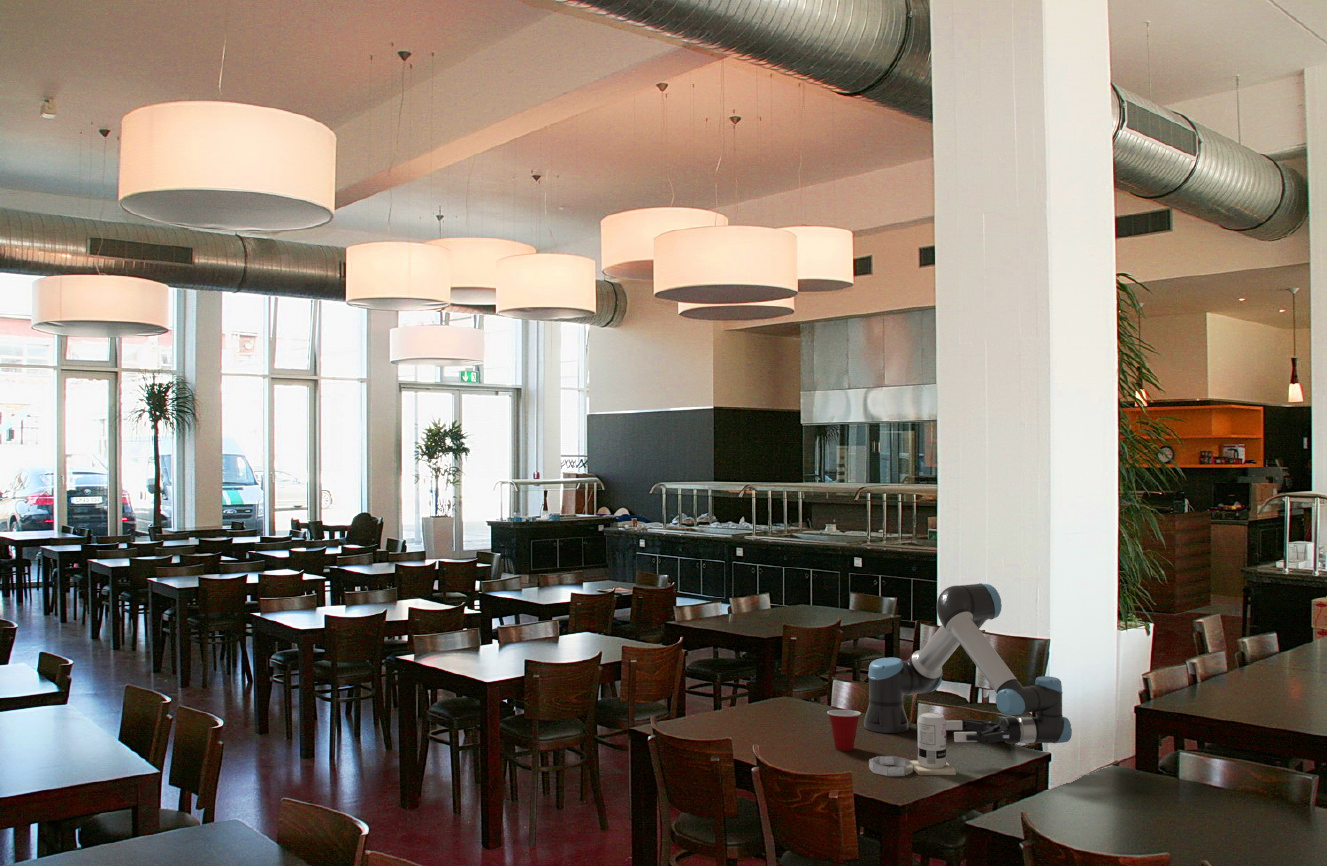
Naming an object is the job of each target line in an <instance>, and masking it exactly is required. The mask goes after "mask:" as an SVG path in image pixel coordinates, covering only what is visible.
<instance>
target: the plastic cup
mask: <svg viewBox="0 0 1327 866" xmlns="http://www.w3.org/2000/svg"><path fill="white" fill-rule="evenodd" d="M826 713H827V715H828V718H829V722H830V728H831V732H832V739H833V743H834V749H835V750H837V751H841V752H851V751H853V750H854V747H855V740H856V737H857V736H856V735H857V729H858V725H859V724H858V723H859V718H860V715H861V714H862V712H860V711H858V710H853V709H852V710H851V709H831V710H828V711H826Z"/></svg>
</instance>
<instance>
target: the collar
mask: <svg viewBox="0 0 1327 866" xmlns="http://www.w3.org/2000/svg"><path fill="white" fill-rule="evenodd" d="M868 768H869V770H870V771H871V772H872V773H873V774H875V775H876V774H877V775H881V776H885V777H906V776H908V775H910V774H912V773H913V772H914V769H913V763H912V762H911V761H910V759H909V758H906V757H900V756H896V755H877V756H875V757H871V758H869V759H868ZM905 775H906V776H905Z"/></svg>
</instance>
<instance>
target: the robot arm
mask: <svg viewBox="0 0 1327 866" xmlns="http://www.w3.org/2000/svg"><path fill="white" fill-rule="evenodd" d="M1001 612H1002V598H1001V596H1000V593H999V592H998V590H997V589H996V587H994V586H993V585H991V584H990V583H989V584H988V583H983V582H982V583H973V584H963V585H951V586H949V587H946V588H945V589H944V590H942V592H940V594H939V596H938V599H937V602H936V613H937V616H938V619H939V622H940V623H941V625H940V626H939V627H938V629H937V630H936V631H935V633H934V634H933V635H932V637H931V638H930V639H929V640H928V641H927V643H926V644H925V645H924V647H922V649H919V650H916V651H914V652H913V653H912V654H911V655H910V656H909V658H908V659H907V660H902V659H901V658H898V657H881V658H877V659H874V660H873V661H871V662H870V664H869V666H868V674H867V675H868V707H867V709H866V713H865V717H864V719H863V720H864V721H863V725H864V726H863V728H865V729H866V730H868V731H871V732H876V733H882V734H883V733H884V734H896V733H904V732H907V731H908V730H909V719H908V718H907V714H906V711H905V707H904V696H910V695H917V694H928V693H931V692H935V691H936V690H938V688H939V687H940V686H941V684H942V681H943V678H942V677H943V666H944V664H945V663H946V662H947V661H948V660H949V658H950V657H951V656H952V655H953V654H954V652H955V651H956V650H957V649H958V647H959V646H961V647H962V648H963V650H964V651H965V652H966V654H967V655H968V656H969V658H970V660H972V662H973V663H974V664H975V666H976V667H977V669H978V670H979V672H980V673H981V674H982V675H983V677H984V679H985V681H987V683H988V684H989V685H990V687H991V688H992V689H993V691H994V692H995V693H996V695H995V704H996V709H998V711H999V712H1000V713H1001V714H1002V715H1004V716H1017V718H1016V717H1004V718H1002V720H1001V723H1000V724H999V723H997V722H996V721H995V720H984V719H983V720H982V719H973V718H965V717H962V718H960V719H961V720H946V731H954V732H953V742H954V743H977V742H978V743H981V744H982V745H987V744H993V743H997V742H999V743H1000V742H1004V743H1006V744H1018V743H1020V744H1025V745H1026V746H1028V745H1030V744H1060V743H1068V742H1069V741H1071V738H1072V736H1073V735H1072V733H1073V732H1072V731H1073V729H1072V724H1071V721H1070V720H1069V718H1068V717H1065V716H1063V693H1064V692H1063V686H1062V685H1063V684H1062V681H1061V679H1059V678H1057V677H1055V676H1044V675H1043V676H1037V677H1036V678H1035V679H1034V681H1035V682H1034V685H1029V686H1023V685H1022V684H1021V682H1020V681H1019V680H1018V679H1017V677H1016V676H1015V674H1014V673H1013V672H1012V671H1011V669H1010V668H1009V667H1008V665H1007V664H1006V663H1005V661H1004V659H1002V657H1001V656H1000V655H999V653H998V652H997V651H996V649H995V648H994V646H993V645H992V644H991V643H990V641H989V640H988V639H987V637H986V636H985V634H984V633H983V632H982V631H981V627H982V626H983V625H984V623H985V622H987V620H991V621H992V620H994V619H997V618H999V616H1000V614H1001ZM1028 713H1030V714H1031V713H1035V716H1033V717H1031V716H1020V715H1024V714H1028ZM965 730H968V731H965Z"/></svg>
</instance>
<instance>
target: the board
mask: <svg viewBox="0 0 1327 866" xmlns="http://www.w3.org/2000/svg"><path fill="white" fill-rule="evenodd" d="M909 760H910V759H909ZM910 761H911V762H912V763H913V771H915V773H916V774H917V775H919V776H956V775H957V770H956V769H955V768H954V767H953V766H951V764H949V763H948V762H947V761H946V765H945V766H944V767H943V768H939V769H930V768H925V767H922V766H921V765H920V764H919V763H918V759H913V760H910Z"/></svg>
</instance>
